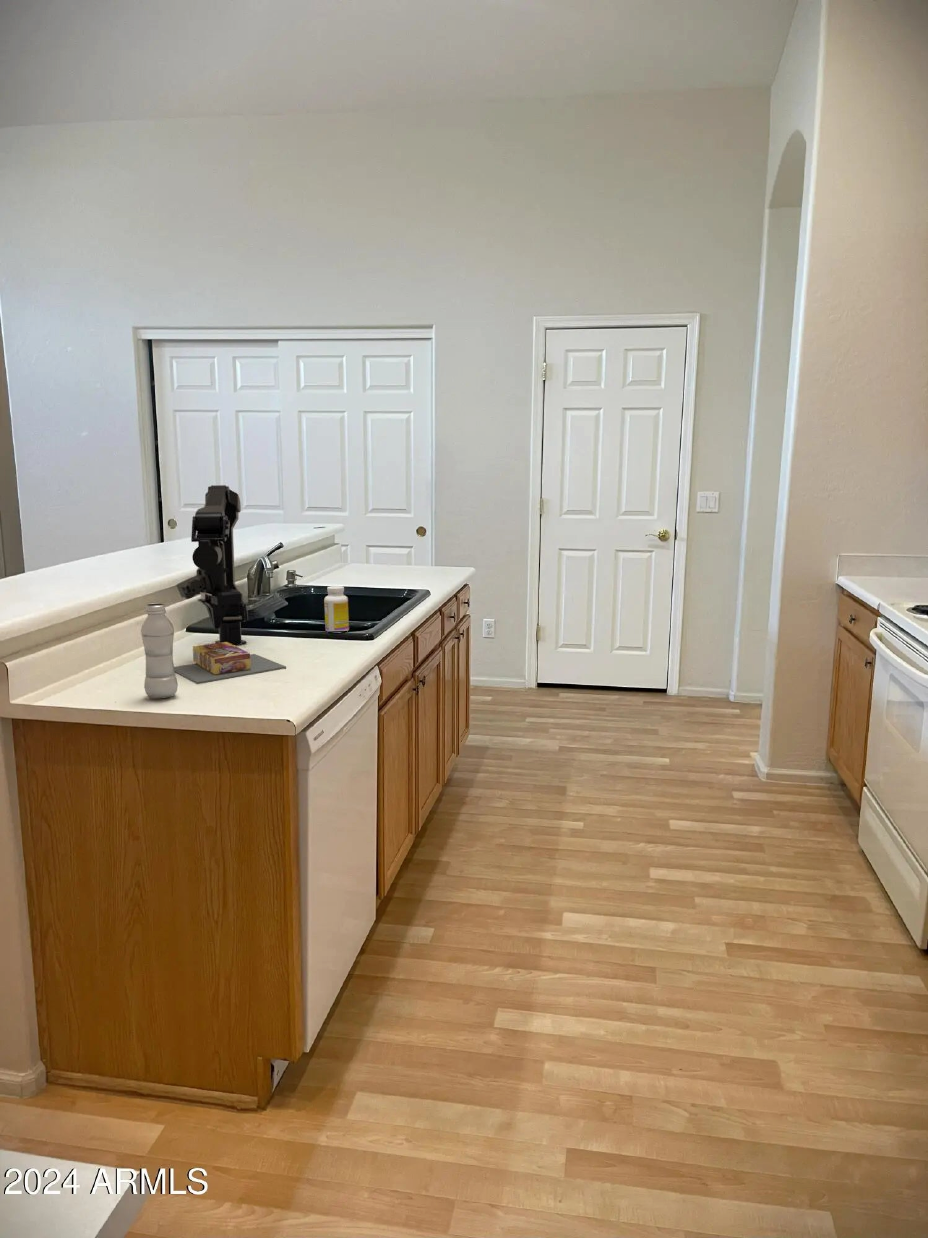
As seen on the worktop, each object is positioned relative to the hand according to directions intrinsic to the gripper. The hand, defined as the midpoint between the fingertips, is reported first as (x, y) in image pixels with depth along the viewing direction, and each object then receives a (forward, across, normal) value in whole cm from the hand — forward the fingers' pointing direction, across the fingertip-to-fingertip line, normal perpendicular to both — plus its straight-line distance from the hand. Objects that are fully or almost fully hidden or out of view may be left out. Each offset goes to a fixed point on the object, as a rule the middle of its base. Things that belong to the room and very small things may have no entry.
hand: (216, 628), depth 212 cm
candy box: (+7, -4, 0) cm, 8 cm away
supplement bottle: (+9, -15, +42) cm, 45 cm away
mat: (+9, +5, 0) cm, 10 cm away
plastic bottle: (+9, +19, -21) cm, 30 cm away
